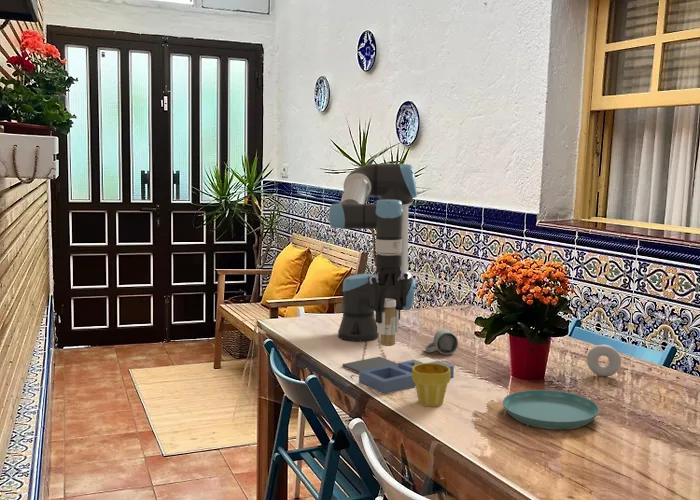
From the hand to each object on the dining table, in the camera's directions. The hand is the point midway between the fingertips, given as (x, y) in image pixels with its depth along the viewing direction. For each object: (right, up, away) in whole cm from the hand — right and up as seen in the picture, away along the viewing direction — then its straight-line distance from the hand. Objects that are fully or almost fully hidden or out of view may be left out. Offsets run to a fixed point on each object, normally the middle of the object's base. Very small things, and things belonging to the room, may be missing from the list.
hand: (387, 332), depth 208 cm
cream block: (+12, -15, +11) cm, 22 cm away
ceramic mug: (+20, -11, +37) cm, 44 cm away
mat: (-3, -14, +18) cm, 23 cm away
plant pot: (+11, -18, -13) cm, 25 cm away
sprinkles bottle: (0, -4, +1) cm, 4 cm away
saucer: (+41, -20, -23) cm, 51 cm away
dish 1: (0, -16, +2) cm, 16 cm away
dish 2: (+12, -15, +11) cm, 22 cm away
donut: (+67, -15, +10) cm, 69 cm away
